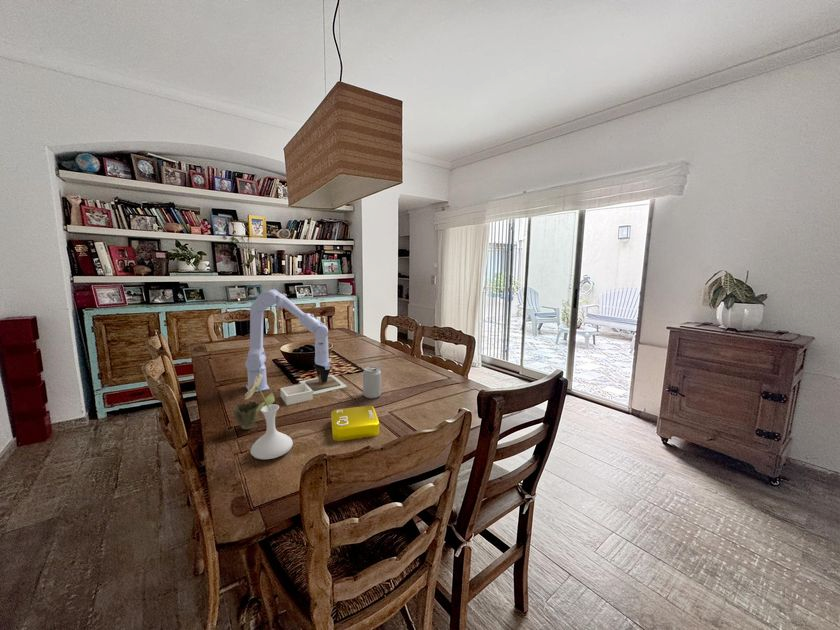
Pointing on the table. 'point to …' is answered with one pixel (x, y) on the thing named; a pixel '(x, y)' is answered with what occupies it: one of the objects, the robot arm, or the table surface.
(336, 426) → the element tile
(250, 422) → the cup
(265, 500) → the table surface
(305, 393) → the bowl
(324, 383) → the lid
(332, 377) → the mat
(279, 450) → the flower in vase
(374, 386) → the can
